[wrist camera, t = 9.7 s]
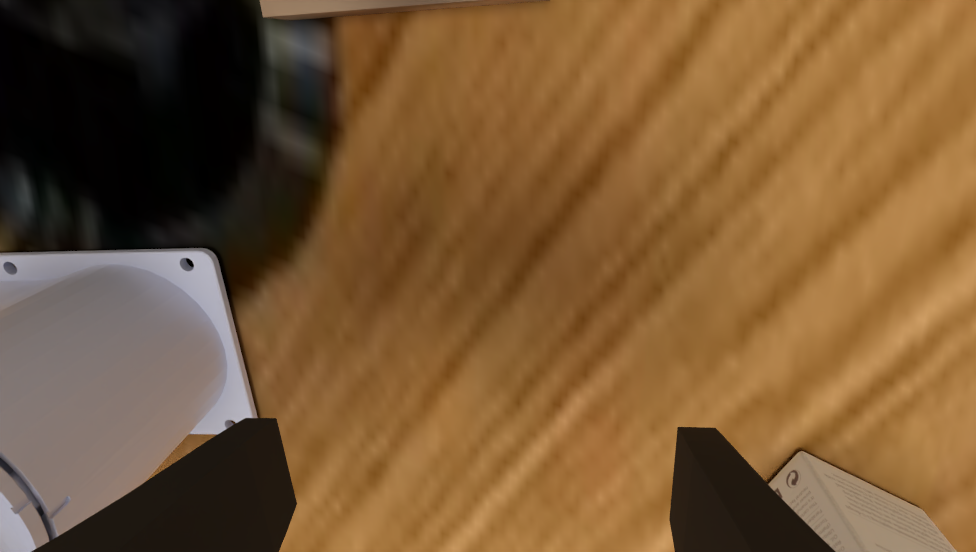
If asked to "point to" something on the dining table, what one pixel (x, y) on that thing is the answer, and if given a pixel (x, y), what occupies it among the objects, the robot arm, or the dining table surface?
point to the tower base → (361, 7)
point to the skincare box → (854, 510)
